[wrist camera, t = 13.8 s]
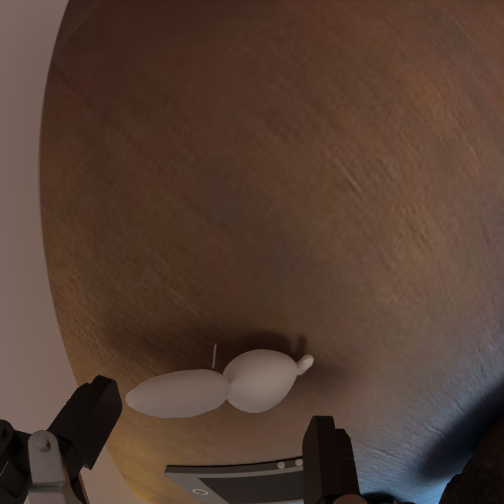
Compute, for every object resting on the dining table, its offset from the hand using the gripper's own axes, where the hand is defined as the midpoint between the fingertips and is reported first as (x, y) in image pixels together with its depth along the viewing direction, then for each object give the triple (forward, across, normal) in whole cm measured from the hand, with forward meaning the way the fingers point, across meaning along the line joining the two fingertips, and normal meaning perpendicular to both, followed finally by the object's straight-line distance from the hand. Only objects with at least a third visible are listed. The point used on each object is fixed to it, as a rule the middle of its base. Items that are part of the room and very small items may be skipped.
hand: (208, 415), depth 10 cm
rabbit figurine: (+4, 0, 0) cm, 4 cm away
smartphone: (+4, -4, +15) cm, 16 cm away
